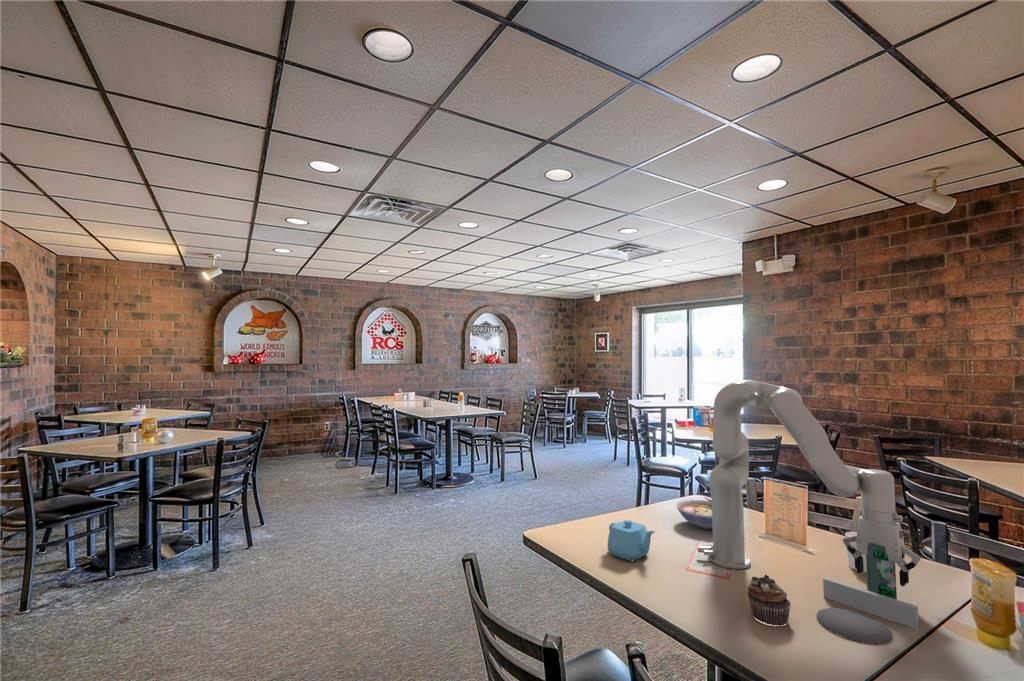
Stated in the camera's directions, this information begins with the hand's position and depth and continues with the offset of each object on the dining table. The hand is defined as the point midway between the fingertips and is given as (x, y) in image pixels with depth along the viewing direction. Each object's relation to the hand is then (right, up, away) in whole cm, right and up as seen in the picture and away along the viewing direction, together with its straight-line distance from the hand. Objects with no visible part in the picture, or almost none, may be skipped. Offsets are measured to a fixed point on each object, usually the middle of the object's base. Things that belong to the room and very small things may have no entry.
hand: (881, 578), depth 129 cm
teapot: (-62, -7, +28) cm, 68 cm away
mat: (-18, -5, -14) cm, 23 cm away
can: (0, -6, 0) cm, 6 cm away
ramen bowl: (-24, -9, +57) cm, 63 cm away
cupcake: (-37, -5, -10) cm, 39 cm away
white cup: (+9, -7, +19) cm, 22 cm away
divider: (-9, -5, -7) cm, 13 cm away
